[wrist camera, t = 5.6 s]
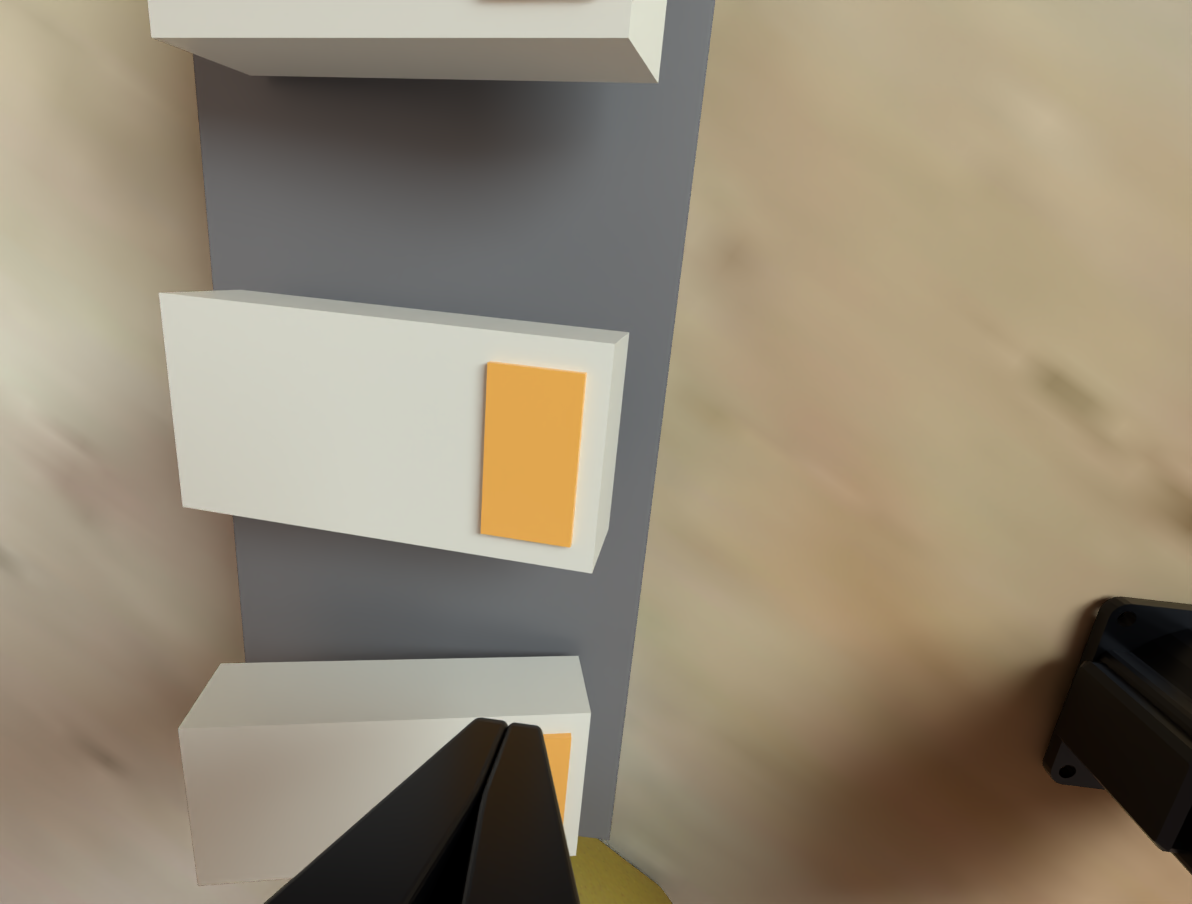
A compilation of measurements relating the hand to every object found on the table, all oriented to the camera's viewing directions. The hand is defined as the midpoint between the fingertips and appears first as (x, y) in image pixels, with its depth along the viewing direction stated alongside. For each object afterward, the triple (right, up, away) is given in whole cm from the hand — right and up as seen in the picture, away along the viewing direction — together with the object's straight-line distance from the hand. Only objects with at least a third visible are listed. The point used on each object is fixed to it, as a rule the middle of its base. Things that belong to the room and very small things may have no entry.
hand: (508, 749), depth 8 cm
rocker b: (-3, +4, +4) cm, 6 cm away
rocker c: (-3, -3, +6) cm, 8 cm away
